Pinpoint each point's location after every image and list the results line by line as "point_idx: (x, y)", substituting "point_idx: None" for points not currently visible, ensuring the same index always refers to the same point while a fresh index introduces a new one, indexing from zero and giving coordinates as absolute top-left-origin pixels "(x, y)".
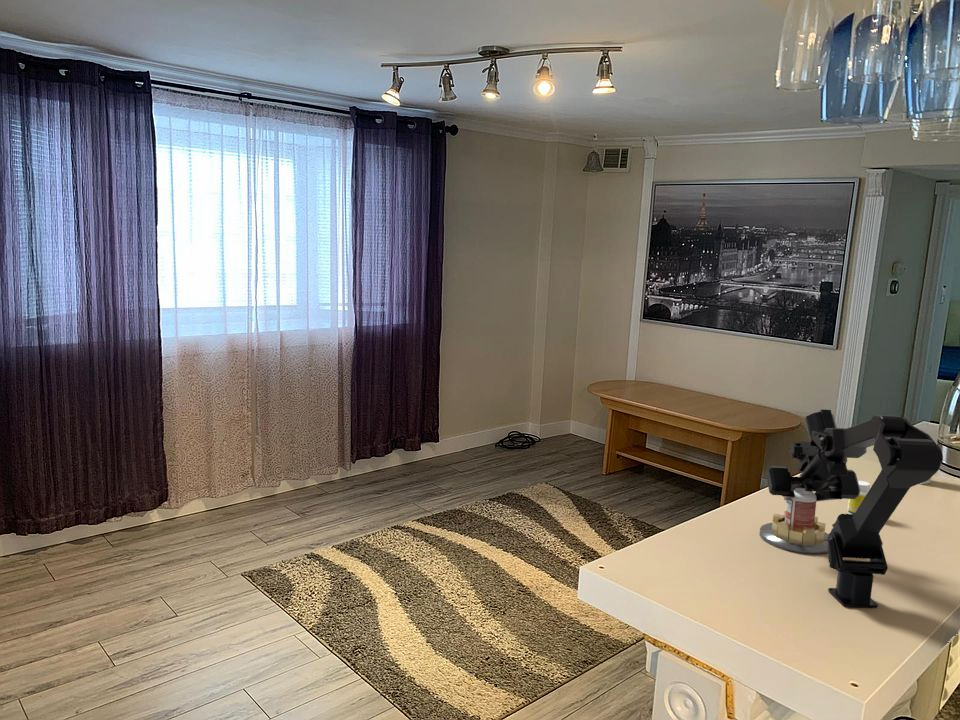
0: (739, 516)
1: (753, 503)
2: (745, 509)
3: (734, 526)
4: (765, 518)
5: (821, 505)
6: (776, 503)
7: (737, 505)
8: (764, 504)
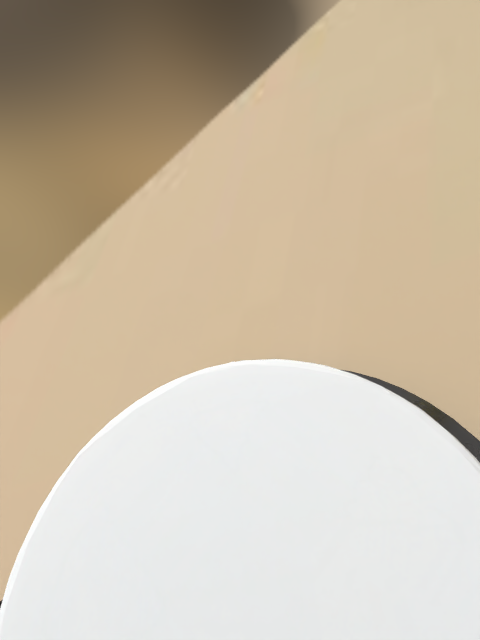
0: (87, 328)
1: (190, 180)
2: (140, 245)
3: (12, 469)
4: (198, 311)
5: (455, 104)
6: (279, 149)
7: (121, 219)
8: (230, 173)
